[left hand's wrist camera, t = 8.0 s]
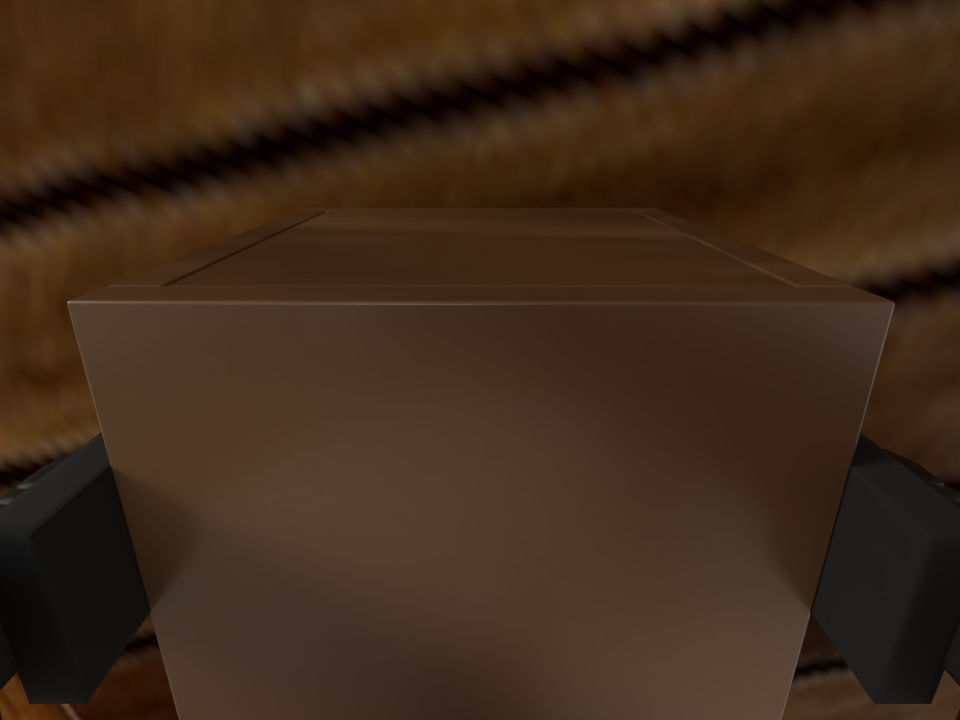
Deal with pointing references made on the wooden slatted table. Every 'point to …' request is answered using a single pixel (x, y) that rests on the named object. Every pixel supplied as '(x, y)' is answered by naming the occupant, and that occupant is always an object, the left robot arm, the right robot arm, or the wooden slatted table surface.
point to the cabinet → (480, 462)
